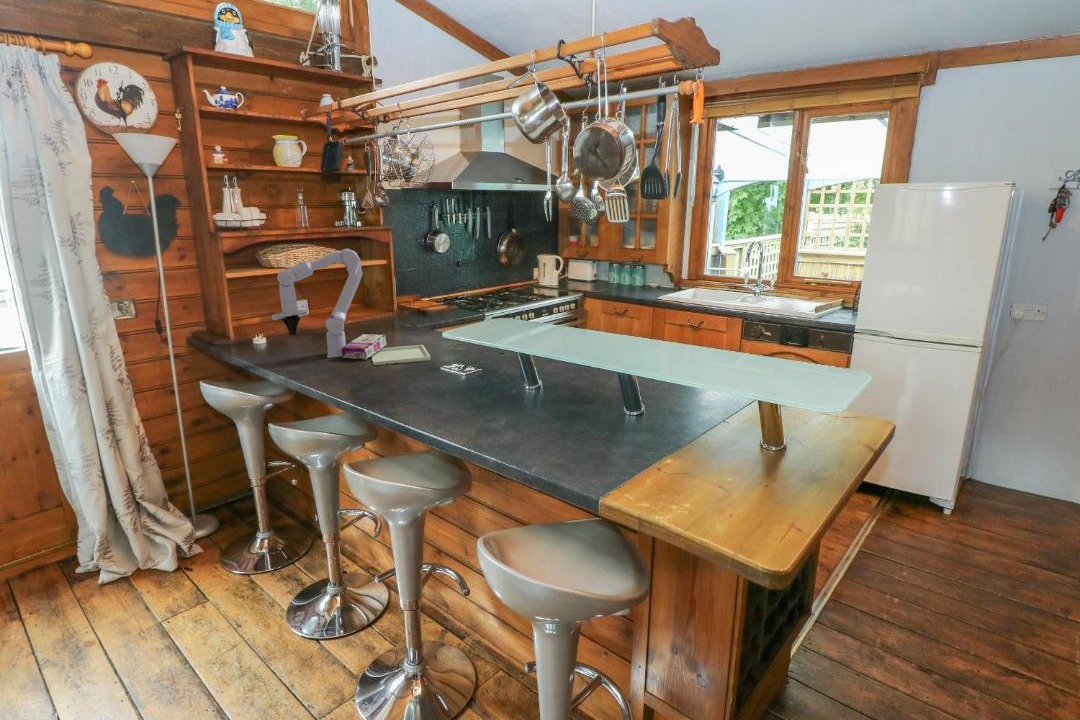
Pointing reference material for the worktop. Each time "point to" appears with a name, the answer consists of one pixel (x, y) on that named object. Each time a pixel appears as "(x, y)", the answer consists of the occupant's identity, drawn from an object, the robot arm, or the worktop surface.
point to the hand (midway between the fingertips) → (292, 334)
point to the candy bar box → (364, 346)
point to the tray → (400, 355)
